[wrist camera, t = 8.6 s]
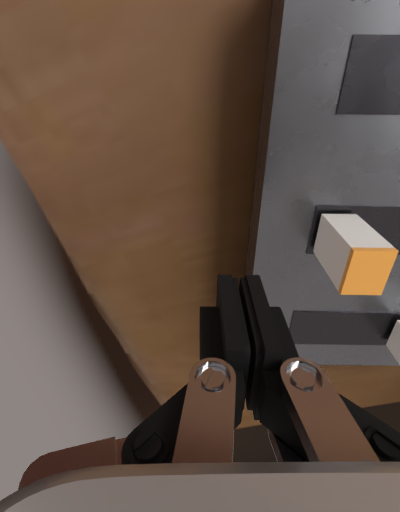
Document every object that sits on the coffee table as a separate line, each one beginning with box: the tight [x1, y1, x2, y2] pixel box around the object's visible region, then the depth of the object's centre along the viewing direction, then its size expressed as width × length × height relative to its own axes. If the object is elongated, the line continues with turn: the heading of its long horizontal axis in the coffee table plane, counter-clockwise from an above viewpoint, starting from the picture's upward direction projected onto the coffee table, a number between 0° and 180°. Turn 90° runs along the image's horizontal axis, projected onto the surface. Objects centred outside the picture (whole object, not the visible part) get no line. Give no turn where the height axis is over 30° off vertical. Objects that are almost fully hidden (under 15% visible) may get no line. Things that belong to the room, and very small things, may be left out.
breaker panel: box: [245, 0, 400, 366], centre depth 19 cm, size 16×24×3 cm, turn 0°
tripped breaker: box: [313, 214, 399, 295], centre depth 16 cm, size 2×2×4 cm
